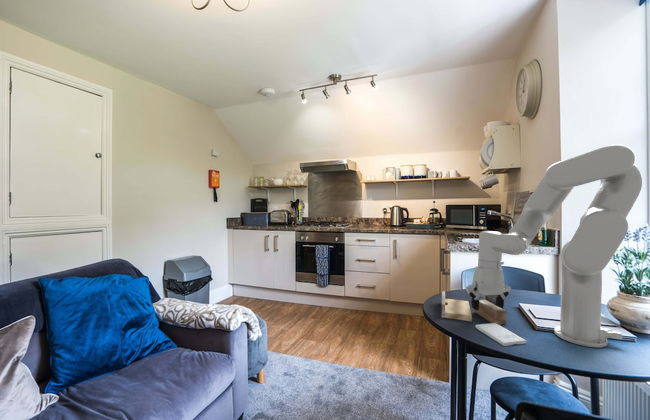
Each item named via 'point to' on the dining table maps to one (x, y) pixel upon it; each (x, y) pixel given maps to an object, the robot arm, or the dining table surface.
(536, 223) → the robot arm
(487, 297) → the ceramic mug
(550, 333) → the dining table surface
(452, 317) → the oak ledge
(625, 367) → the dining table surface
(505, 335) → the external hard drive
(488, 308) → the brown rectangular block
